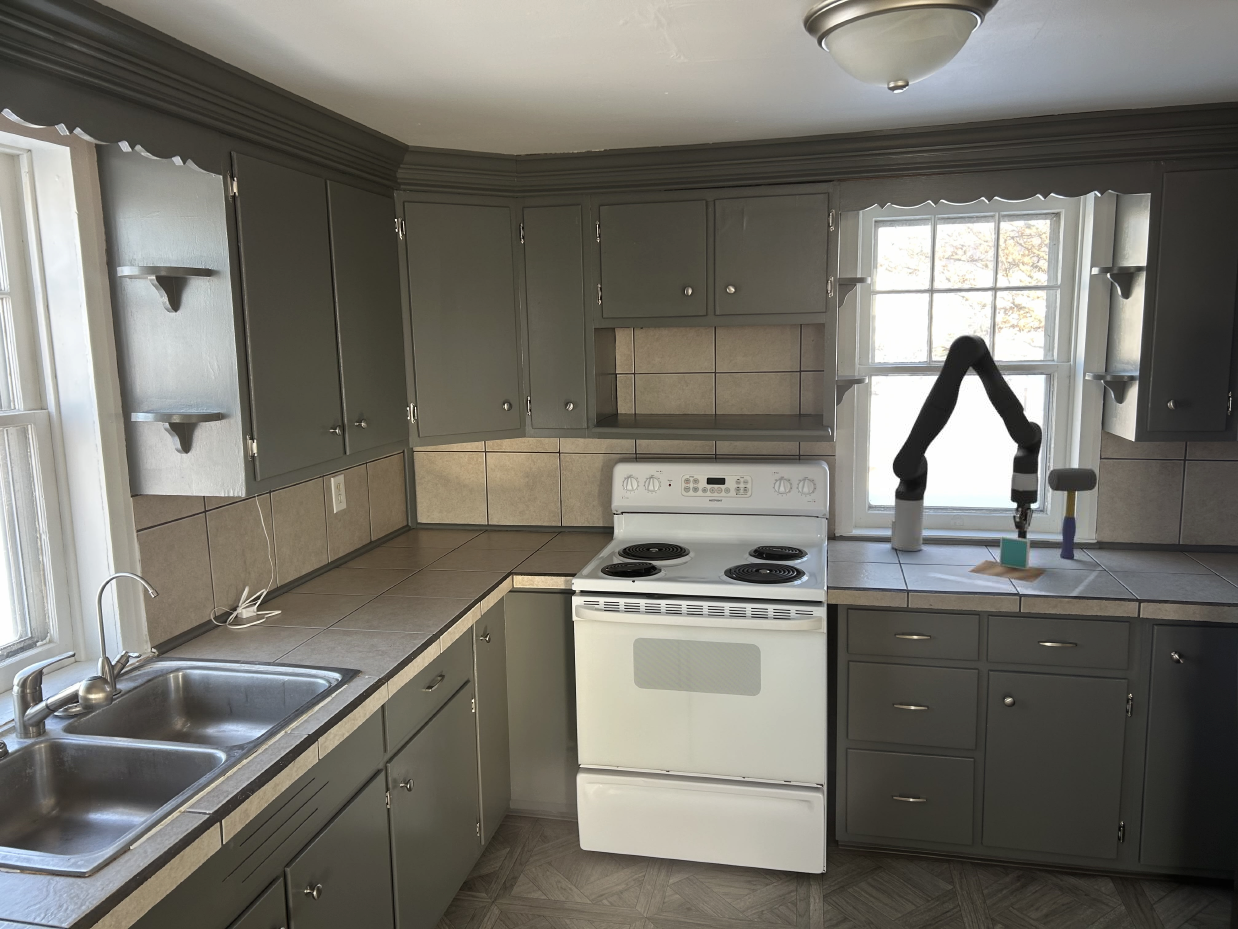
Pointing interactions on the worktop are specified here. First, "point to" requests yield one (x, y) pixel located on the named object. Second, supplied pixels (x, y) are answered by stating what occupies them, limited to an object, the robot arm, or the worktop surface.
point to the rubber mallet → (1071, 500)
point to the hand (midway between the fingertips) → (1021, 541)
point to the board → (1008, 571)
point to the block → (1014, 552)
